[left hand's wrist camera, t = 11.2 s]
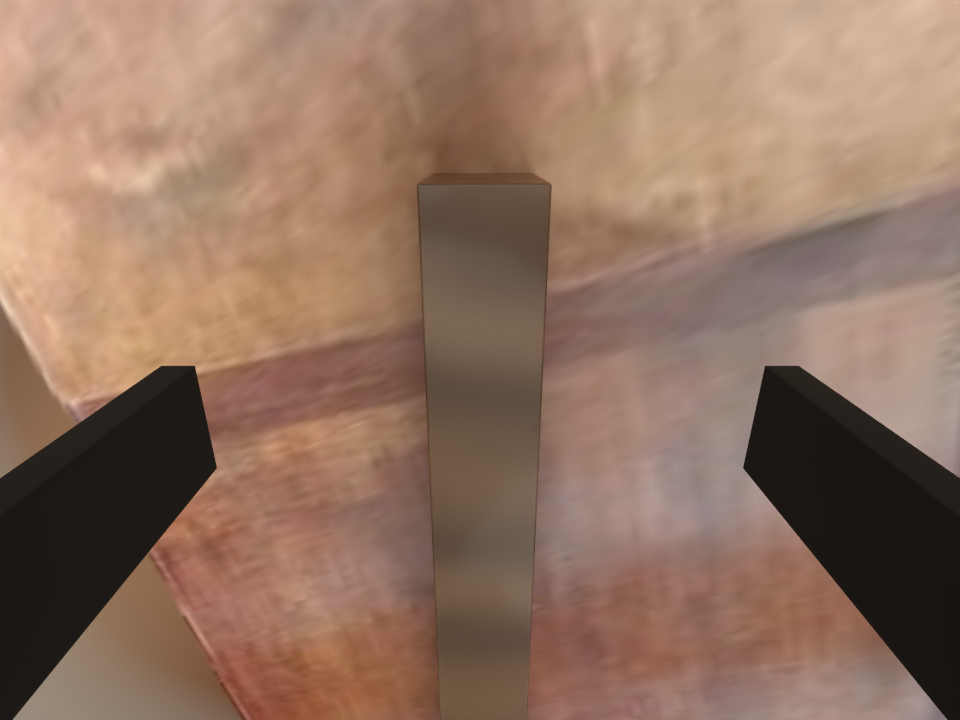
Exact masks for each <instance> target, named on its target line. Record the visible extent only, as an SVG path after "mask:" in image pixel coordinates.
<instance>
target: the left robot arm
mask: <svg viewBox="0 0 960 720" xmlns="http://www.w3.org/2000/svg"><path fill="white" fill-rule="evenodd" d="M216 468H217V467H216V462H215V457H214V453H213V448H212V444H211V439H210V434H209V430H208V425H207V420H206V416H205V411H204V406H203V402H202V397H201V393H200V388H199V383H198V379H197V374H196V369H195V366H161V367H159V368H158V369H156V370H155V371H154V372H152V373H151V374H149V375H148V376H146V377H145V378H143V379H142V380H141V381H139V382H138V383H136V384H135V385H133V386H132V387H131V388H129V389H128V390H126V391H125V392H123V393H122V394H121V395H119V396H118V397H116V398H115V399H113V400H112V401H110V402H109V403H108V404H106V405H105V406H103V407H102V408H100V409H99V410H98V411H96V412H95V413H93V414H92V415H90V416H89V417H88V418H86V419H85V420H83V421H82V422H80V423H79V424H78V425H76V426H75V427H73V428H72V429H70V430H69V431H67V432H66V433H65V434H63V435H62V436H60V437H59V438H57V439H56V440H55V441H53V442H52V443H50V444H49V445H47V446H46V447H45V448H43V449H42V450H40V451H39V452H37V453H36V454H34V455H33V456H32V457H30V458H29V459H27V460H26V461H25V462H23V463H22V464H20V465H19V466H17V467H16V468H14V469H13V470H12V471H10V472H9V473H7V474H6V475H4V476H3V477H2V478H0V720H13V718H14V717H15V716H16V715H17V713H18V712H19V711H20V710H21V709H22V707H23V706H24V705H25V704H26V702H27V701H28V700H29V699H30V697H31V696H32V695H33V694H34V693H35V691H36V690H37V689H38V688H39V686H40V685H41V684H42V683H43V681H44V680H45V679H46V678H47V677H48V675H49V674H50V673H51V672H52V670H53V669H54V668H55V667H56V665H57V664H58V663H59V662H60V661H61V659H62V658H63V657H64V656H65V654H66V653H67V652H68V651H69V649H70V648H71V647H72V646H73V645H74V643H75V642H76V641H77V640H78V638H79V637H80V636H81V635H82V633H83V632H84V631H85V630H86V629H87V627H88V626H89V625H90V624H91V622H92V621H93V620H94V619H95V617H96V616H97V615H98V614H99V612H100V611H101V610H102V609H103V608H104V606H105V605H106V604H107V603H108V601H109V600H110V599H111V598H112V597H113V595H114V594H115V593H116V592H117V590H118V589H119V588H120V587H121V585H122V584H123V583H124V582H125V580H126V579H127V578H128V577H129V575H130V574H131V573H132V572H133V571H134V569H135V568H136V567H137V566H138V564H139V563H140V562H141V561H142V560H143V558H144V557H145V556H146V555H147V553H148V552H149V551H150V550H151V548H152V547H153V546H154V545H155V544H156V542H157V541H158V540H159V539H160V537H161V536H162V535H163V534H164V532H165V531H166V530H167V529H168V528H169V526H170V525H171V524H172V523H173V521H174V520H175V519H176V518H177V516H178V515H179V514H180V513H181V512H182V510H183V509H184V508H185V507H186V505H187V504H188V503H189V502H190V500H191V499H192V498H193V497H194V496H195V494H196V493H197V492H198V491H199V489H200V488H201V487H202V486H203V484H204V483H205V482H206V481H207V479H208V478H209V477H210V476H211V475H212V473H213V472H214V471H215V470H216ZM743 468H744V470H745V471H746V472H747V473H748V475H749V476H750V477H751V478H752V479H753V481H754V482H755V483H756V484H757V486H758V487H759V488H760V489H761V491H762V492H763V493H764V494H765V496H766V497H767V498H768V499H769V500H770V502H771V503H772V504H773V505H774V507H775V508H776V509H777V510H778V512H779V513H780V514H781V515H782V516H783V518H784V519H785V520H786V521H787V523H788V524H789V525H790V526H791V528H792V529H793V530H794V531H795V532H796V534H797V535H798V536H799V537H800V539H801V540H802V541H803V542H804V544H805V545H806V546H807V547H808V548H809V550H810V551H811V552H812V553H813V555H814V556H815V557H816V558H817V560H818V561H819V562H820V563H821V564H822V566H823V567H824V568H825V569H826V571H827V572H828V573H829V574H830V576H831V577H832V578H833V579H834V580H835V582H836V583H837V584H838V585H839V587H840V588H841V589H842V590H843V592H844V593H845V594H846V595H847V597H848V598H849V599H850V600H851V601H852V603H853V604H854V605H855V606H856V608H857V609H858V610H859V611H860V613H861V614H862V615H863V616H864V617H865V619H866V620H867V621H868V622H869V624H870V625H871V626H872V627H873V629H874V630H875V631H876V632H877V633H878V635H879V636H880V637H881V638H882V640H883V641H884V642H885V643H886V645H887V646H888V647H889V648H890V649H891V651H892V652H893V653H894V654H895V656H896V657H897V658H898V659H899V661H900V662H901V663H902V664H903V665H904V667H905V668H906V669H907V670H908V672H909V673H910V674H911V675H912V677H913V678H914V679H915V680H916V681H917V683H918V684H919V685H920V686H921V688H922V689H923V690H924V691H925V693H926V694H927V695H928V696H929V697H930V699H931V700H932V701H933V702H934V704H935V705H936V706H937V707H938V709H939V710H940V711H941V712H942V714H943V715H944V716H945V717H946V718H947V720H960V478H959V477H957V476H956V475H954V474H953V473H951V472H950V471H948V470H947V469H946V468H944V467H943V466H941V465H940V464H938V463H937V462H936V461H934V460H933V459H931V458H930V457H928V456H927V455H926V454H924V453H923V452H921V451H920V450H918V449H917V448H915V447H914V446H913V445H911V444H910V443H908V442H907V441H905V440H904V439H903V438H901V437H900V436H898V435H897V434H895V433H894V432H893V431H891V430H890V429H888V428H887V427H885V426H884V425H882V424H881V423H880V422H878V421H877V420H875V419H874V418H872V417H871V416H870V415H868V414H867V413H865V412H864V411H862V410H861V409H860V408H858V407H857V406H855V405H854V404H852V403H851V402H850V401H848V400H847V399H845V398H844V397H842V396H841V395H839V394H838V393H837V392H835V391H834V390H832V389H831V388H829V387H828V386H827V385H825V384H824V383H822V382H821V381H819V380H818V379H817V378H815V377H814V376H812V375H811V374H809V373H808V372H806V371H805V370H804V369H802V368H801V367H799V366H765V369H764V374H763V379H762V383H761V388H760V393H759V397H758V402H757V406H756V411H755V416H754V420H753V425H752V430H751V434H750V439H749V444H748V448H747V453H746V457H745V462H744V467H743Z"/></svg>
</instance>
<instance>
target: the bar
mask: <svg viewBox="0 0 960 720" xmlns="http://www.w3.org/2000/svg"><path fill="white" fill-rule="evenodd" d="M417 197H418V220H419V243H420V266H421V289H422V312H423V335H424V358H425V381H426V404H427V426H428V449H429V472H430V495H431V518H432V541H433V564H434V587H435V610H436V633H437V656H438V679H439V702H440V720H527V703H528V682H529V660H530V638H531V617H532V595H533V573H534V552H535V530H536V508H537V487H538V465H539V443H540V422H541V400H542V378H543V357H544V335H545V313H546V292H547V270H548V249H549V227H550V205H551V184H550V183H548V182H547V181H545V180H543V179H541V178H540V177H538V176H536V175H534V174H432V175H431V176H429V177H428V178H426V179H425V180H423V181H422V182H420V183H419V184H417Z"/></svg>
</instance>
